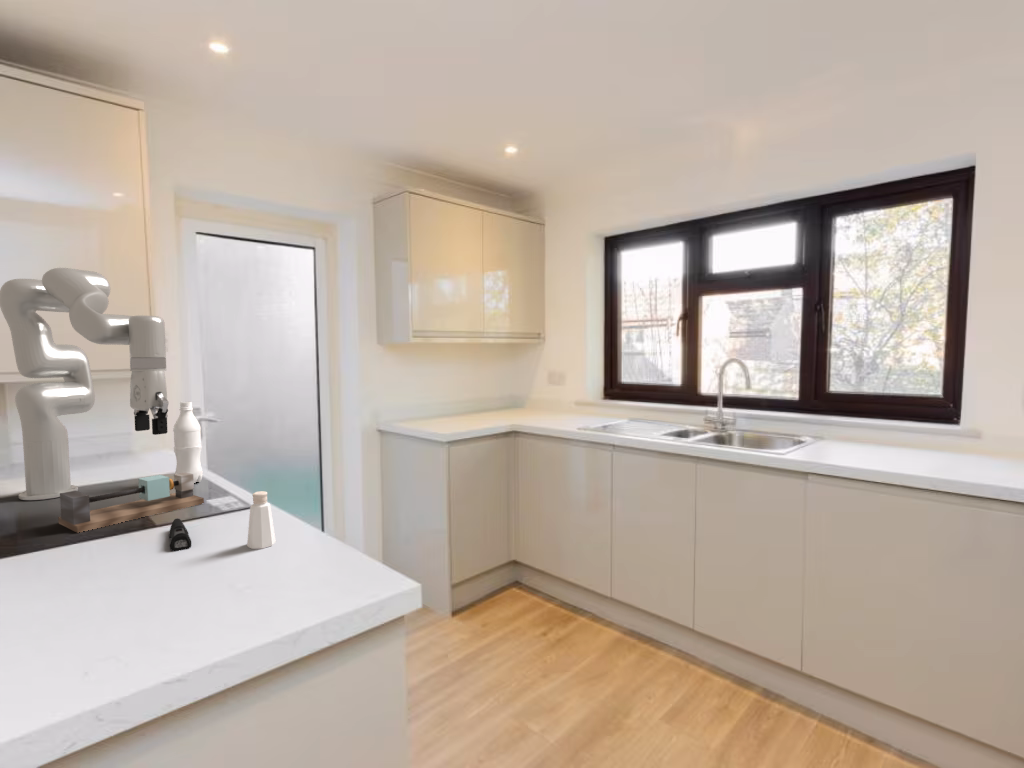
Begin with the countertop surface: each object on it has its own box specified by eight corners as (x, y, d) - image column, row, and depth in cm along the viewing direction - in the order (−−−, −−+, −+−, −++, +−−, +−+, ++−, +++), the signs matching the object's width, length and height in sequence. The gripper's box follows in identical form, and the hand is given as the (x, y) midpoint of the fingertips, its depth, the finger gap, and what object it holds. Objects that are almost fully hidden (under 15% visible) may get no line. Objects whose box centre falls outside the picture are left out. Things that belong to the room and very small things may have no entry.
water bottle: (190, 487, 157) (186, 403, 156) (169, 485, 159) (166, 403, 157) (208, 481, 164) (205, 401, 163) (188, 480, 166) (185, 400, 164)
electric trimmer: (187, 529, 121) (187, 516, 121) (192, 549, 108) (191, 534, 108) (167, 532, 119) (167, 519, 119) (170, 553, 106) (169, 537, 106)
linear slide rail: (77, 533, 118) (76, 499, 117) (58, 523, 124) (56, 492, 124) (203, 503, 140) (202, 475, 139) (181, 496, 147) (180, 470, 146)
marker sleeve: (148, 500, 132) (147, 481, 132) (139, 497, 135) (138, 478, 134) (169, 496, 136) (169, 477, 136) (160, 493, 139) (160, 474, 139)
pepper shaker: (247, 551, 107) (245, 497, 106) (246, 542, 111) (245, 491, 111) (276, 546, 109) (275, 494, 108) (275, 538, 114) (273, 488, 113)
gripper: (116, 364, 135) (119, 431, 136) (147, 366, 125) (149, 437, 127) (149, 364, 141) (152, 427, 142) (181, 365, 132) (183, 433, 133)
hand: (151, 432), depth 135 cm, fingers open, 9 cm apart
